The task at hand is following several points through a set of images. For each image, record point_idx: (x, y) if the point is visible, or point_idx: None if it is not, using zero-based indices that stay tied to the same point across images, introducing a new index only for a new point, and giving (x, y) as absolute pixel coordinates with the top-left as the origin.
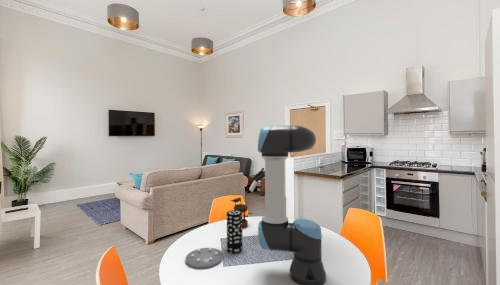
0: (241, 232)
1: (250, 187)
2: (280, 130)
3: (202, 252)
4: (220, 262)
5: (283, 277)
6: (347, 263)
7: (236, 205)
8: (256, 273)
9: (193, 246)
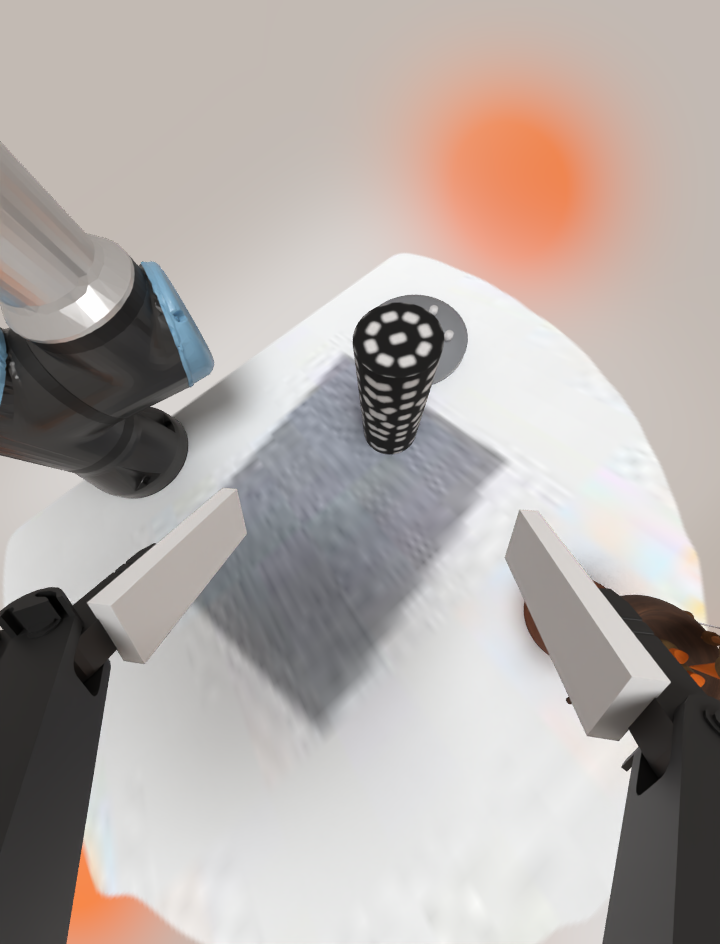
0: (361, 405)
1: (546, 530)
2: None
3: None
4: None
5: (194, 412)
6: None
7: (708, 650)
8: (257, 384)
9: (509, 361)
